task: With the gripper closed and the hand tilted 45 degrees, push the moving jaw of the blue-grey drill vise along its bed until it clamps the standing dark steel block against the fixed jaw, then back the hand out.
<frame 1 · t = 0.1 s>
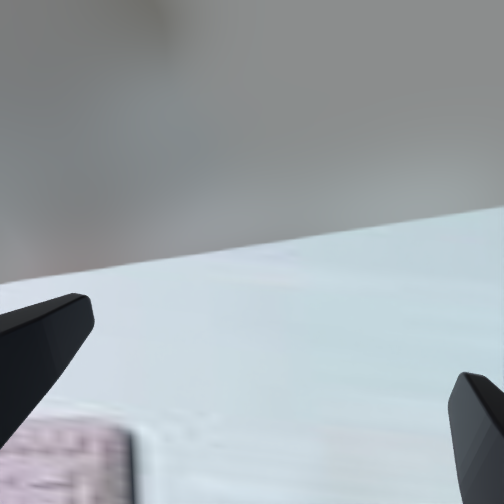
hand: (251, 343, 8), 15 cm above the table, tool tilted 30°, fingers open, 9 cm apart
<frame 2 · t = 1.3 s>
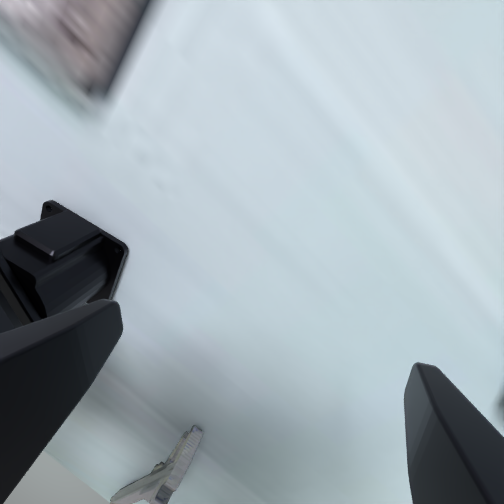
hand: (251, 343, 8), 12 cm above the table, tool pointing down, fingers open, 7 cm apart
caliper: (153, 464, 34), on the table
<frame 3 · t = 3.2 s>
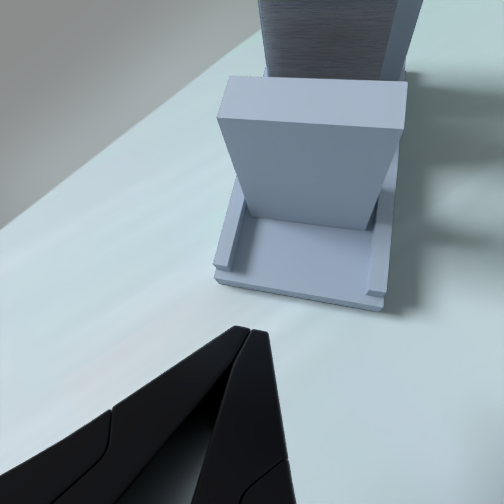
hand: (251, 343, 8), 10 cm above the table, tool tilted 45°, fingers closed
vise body: (318, 162, 22), on the table
block: (323, 125, 21), point 1 cm above the table, touching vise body
free jaw: (309, 164, 15), point 5 cm above the table, slide at 0.0 cm
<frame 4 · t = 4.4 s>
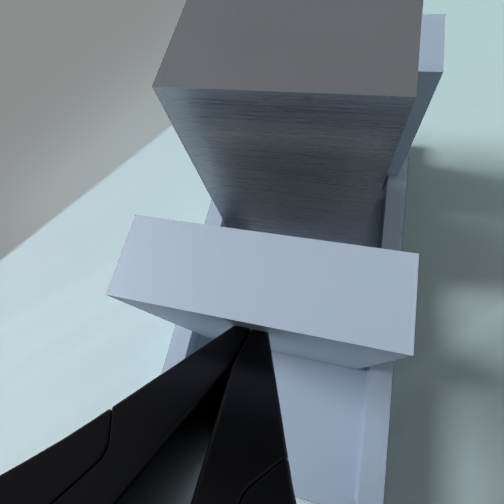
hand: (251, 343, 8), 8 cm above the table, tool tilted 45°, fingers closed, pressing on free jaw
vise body: (295, 269, 17), on the table
block: (301, 225, 16), point 1 cm above the table, touching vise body
free jaw: (273, 306, 11), point 5 cm above the table, slide at 0.9 cm, touching gripper
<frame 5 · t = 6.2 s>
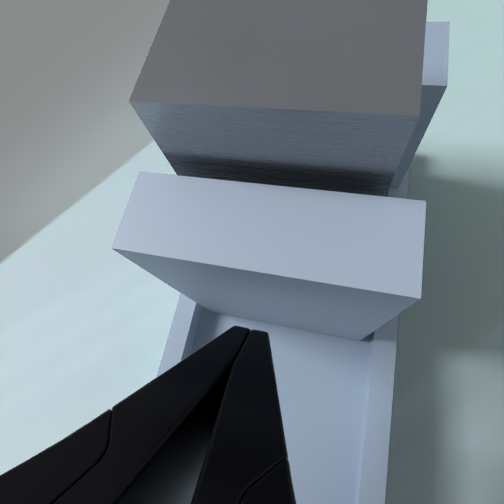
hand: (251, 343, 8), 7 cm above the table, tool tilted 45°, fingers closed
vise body: (291, 285, 16), on the table
block: (298, 233, 15), point 1 cm above the table, touching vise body
free jaw: (277, 273, 11), point 5 cm above the table, slide at 2.9 cm
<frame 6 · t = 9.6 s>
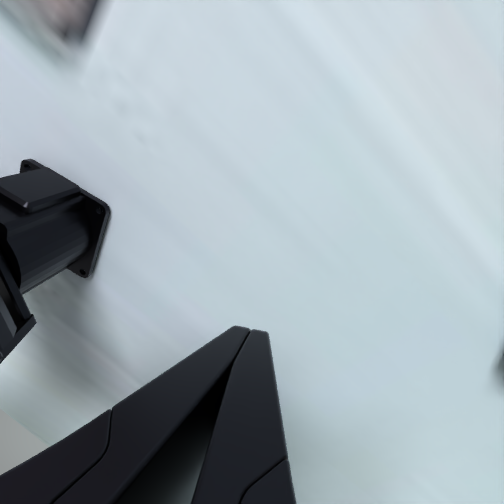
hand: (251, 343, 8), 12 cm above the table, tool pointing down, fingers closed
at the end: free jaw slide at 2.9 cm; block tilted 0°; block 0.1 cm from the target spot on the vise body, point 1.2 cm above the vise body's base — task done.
